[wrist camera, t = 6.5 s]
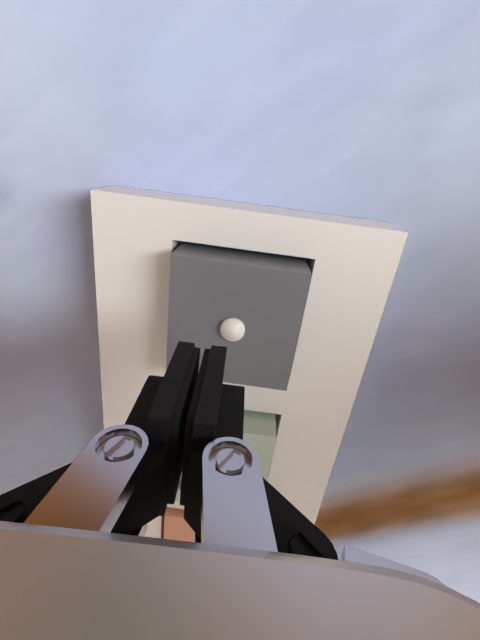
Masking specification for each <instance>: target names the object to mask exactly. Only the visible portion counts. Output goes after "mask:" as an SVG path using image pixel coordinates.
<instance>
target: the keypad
mask: <svg viewBox="0 0 480 640" xmlns="http://www.w3.org/2000/svg"><path fill="white" fill-rule="evenodd" d="M90 195H91V213H92V230H93V248H94V265H95V283H96V300H97V318H98V336H99V353H100V371H101V388H102V406H103V423H104V429H106V428H108V427H111V426H114V425H123V424H125V422H126V420H127V418H128V416H129V414H130V412H131V410H132V408H133V406H134V404H135V402H136V400H137V398H138V396H139V394H140V392H141V390H142V388H143V386H144V384H145V382H146V380H147V378H148V376H150V375H154V376H162V377H164V375H165V372H166V359H167V332H168V305H169V278H170V255H171V254H172V253H173V252H174V251H175V250H176V249H177V248H178V247H179V246H180V245H181V244H182V243H183V242H192V243H200V244H207V245H215V246H222V247H229V248H237V249H244V250H251V251H259V252H266V253H273V254H281V255H288V256H295V257H303V258H305V260H306V262H307V264H308V267H309V269H310V271H311V274H312V276H311V280H310V285H309V289H308V294H307V299H306V303H305V308H304V313H303V317H302V322H301V326H300V331H299V336H298V340H297V345H296V349H295V354H294V359H293V363H292V368H291V373H290V377H289V382H288V386H287V391H283V390H276V389H269V388H262V387H255V386H248V385H241V384H233V383H226V382H223V384H228V385H236V386H244V387H245V396H244V410H251V411H258V412H265V413H273V414H275V415H276V442H275V446H274V451H273V456H272V460H271V465H270V469H269V474H268V479H267V481H268V482H269V483H270V484H271V485H272V486H273V487H274V488H275V489H276V490H277V491H278V492H279V493H281V494H282V495H283V496H284V497H285V498H286V499H287V500H288V501H289V502H290V503H291V504H292V505H293V506H295V507H296V508H297V509H298V510H299V511H300V512H301V513H302V514H303V515H304V516H305V517H306V518H308V519H309V520H310V521H311V522H312V523H313V524H314V525H315V522H316V519H317V515H318V512H319V509H320V506H321V503H322V500H323V497H324V494H325V491H326V487H327V484H328V481H329V478H330V475H331V472H332V469H333V466H334V463H335V460H336V456H337V453H338V450H339V447H340V444H341V441H342V438H343V435H344V432H345V428H346V425H347V422H348V419H349V416H350V413H351V410H352V407H353V404H354V401H355V397H356V394H357V391H358V388H359V385H360V382H361V379H362V376H363V373H364V369H365V366H366V363H367V360H368V357H369V354H370V351H371V348H372V345H373V342H374V338H375V335H376V332H377V329H378V326H379V323H380V320H381V317H382V314H383V310H384V307H385V304H386V301H387V298H388V295H389V292H390V289H391V286H392V283H393V279H394V276H395V273H396V270H397V267H398V264H399V261H400V258H401V255H402V251H403V248H404V245H405V242H406V239H407V236H408V232H406V231H404V230H402V229H400V228H398V227H396V226H394V225H391V224H389V223H387V222H382V221H375V220H367V219H360V218H353V217H345V216H338V215H330V214H323V213H315V212H308V211H301V210H293V209H286V208H278V207H271V206H264V205H256V204H249V203H241V202H234V201H227V200H219V199H212V198H204V197H197V196H190V195H182V194H175V193H167V192H160V191H152V190H145V189H138V188H130V187H123V186H111V187H105V188H98V189H91V190H90ZM167 507H171V508H178V509H184V506H183V505H180V502H179V501H175V503H174V504H167ZM167 507H166V509H167ZM165 512H166V511H165ZM164 517H165V515H164V516H158V517H156V518H155V519H153V520H152V521H150V522H149V523H147V530H146V533H145V536H144V537H152V538H161V539H164Z"/></svg>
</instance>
